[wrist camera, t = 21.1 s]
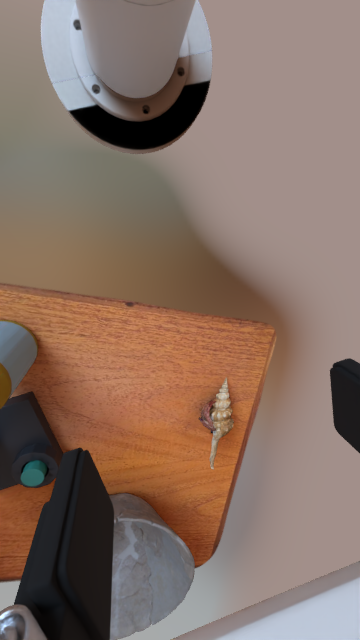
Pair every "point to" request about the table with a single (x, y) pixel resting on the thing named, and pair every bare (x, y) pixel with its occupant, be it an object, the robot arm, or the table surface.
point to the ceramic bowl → (145, 567)
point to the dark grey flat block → (26, 441)
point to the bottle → (14, 356)
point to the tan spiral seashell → (217, 418)
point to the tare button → (33, 473)
